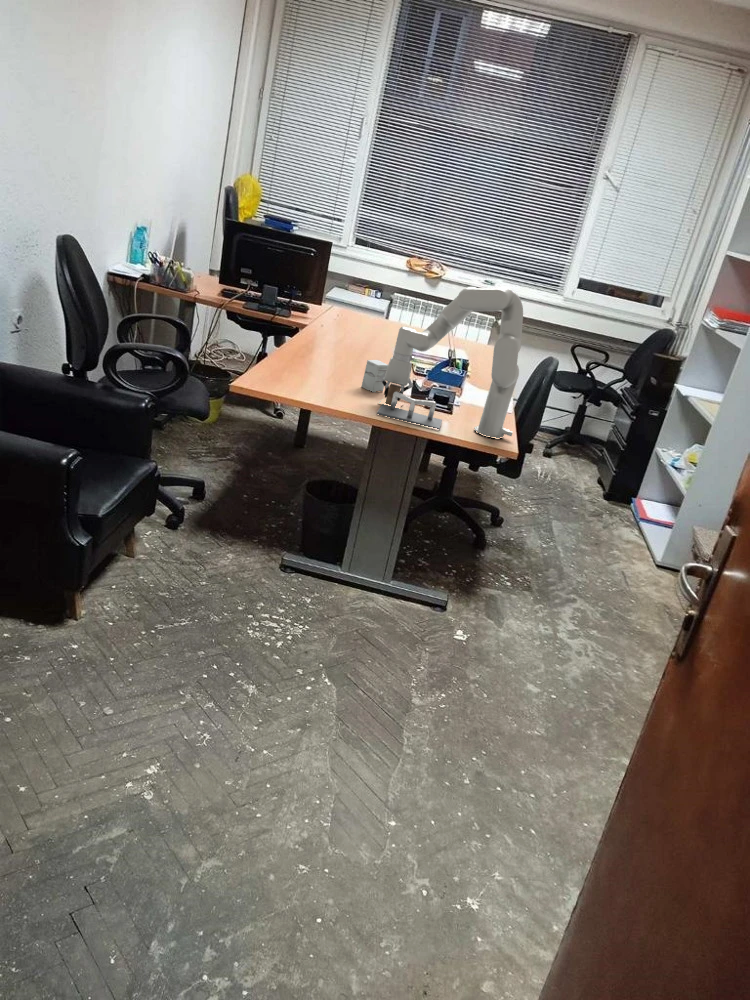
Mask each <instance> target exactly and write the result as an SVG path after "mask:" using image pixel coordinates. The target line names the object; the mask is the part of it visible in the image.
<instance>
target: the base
mask: <svg viewBox="0 0 750 1000" xmlns="http://www.w3.org/2000/svg"><path fill="white" fill-rule="evenodd" d="M390 407H391V406H388V405H384V404H382V405H380V407H379V408H378V410H377V411H376V415H377V414H379V415H383V416H387V417H390V418H389V419H391V418H395V419H399V420H403V421H407V422H411V423H416V424H420V425H424V426H428V427H433V428H437V429H439V430H441V426H442V423H443V419H441V418H437V417H433V419H432V420H428V419H427V418H428V415H425V414H421V413H418V412H413V416H412V418H408V417H407V416H408V412H409V410H406V409H399V408H395V410H390ZM379 415H378V416H379ZM383 416H382V417H383ZM387 417H386V418H387ZM395 419H394V420H395Z"/></svg>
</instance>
